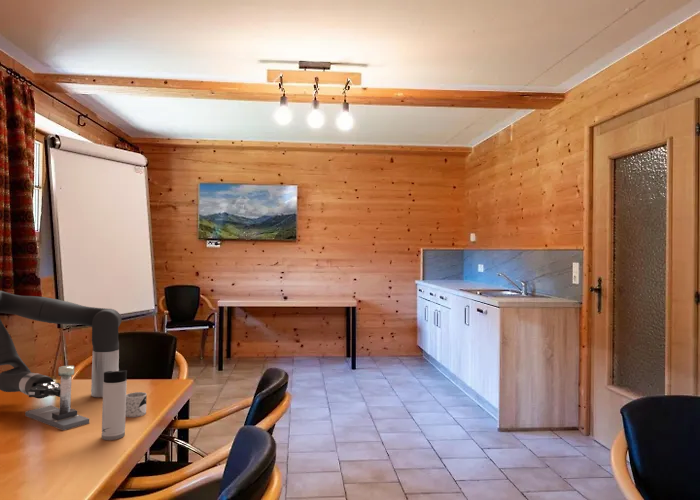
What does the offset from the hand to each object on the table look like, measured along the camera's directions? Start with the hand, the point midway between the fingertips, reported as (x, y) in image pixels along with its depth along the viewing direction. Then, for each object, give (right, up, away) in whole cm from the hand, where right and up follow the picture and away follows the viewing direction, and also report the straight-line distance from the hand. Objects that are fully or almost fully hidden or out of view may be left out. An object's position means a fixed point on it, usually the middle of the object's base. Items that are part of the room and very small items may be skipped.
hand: (63, 393), depth 152 cm
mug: (+19, -10, +10) cm, 24 cm away
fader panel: (-3, -9, +1) cm, 10 cm away
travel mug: (+23, -9, -12) cm, 28 cm away
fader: (+1, -7, -1) cm, 7 cm away
